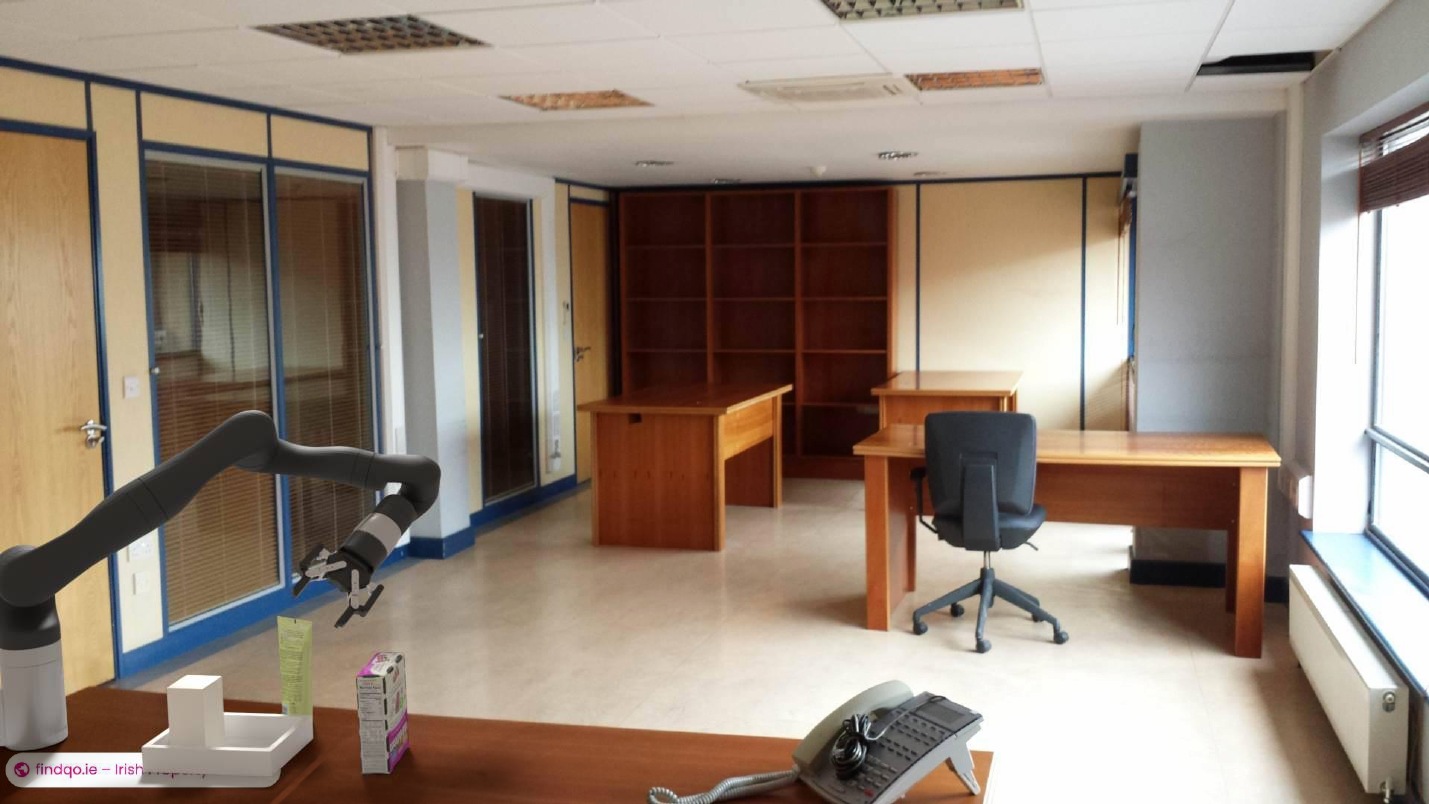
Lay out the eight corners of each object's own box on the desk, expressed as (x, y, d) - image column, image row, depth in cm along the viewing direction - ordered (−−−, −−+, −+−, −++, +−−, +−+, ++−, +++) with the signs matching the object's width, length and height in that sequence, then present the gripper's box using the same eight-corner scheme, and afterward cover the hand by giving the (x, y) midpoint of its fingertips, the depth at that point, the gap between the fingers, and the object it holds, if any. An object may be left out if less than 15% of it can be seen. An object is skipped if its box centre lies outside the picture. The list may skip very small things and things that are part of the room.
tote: (143, 777, 185) (141, 747, 185) (194, 739, 200) (192, 711, 200) (271, 782, 184) (270, 751, 183) (313, 743, 198) (312, 715, 198)
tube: (316, 720, 209) (311, 612, 207) (317, 730, 204) (312, 620, 202) (282, 724, 207) (277, 616, 205) (282, 735, 202) (277, 624, 200)
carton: (170, 760, 190) (166, 687, 188) (190, 745, 196) (186, 675, 194) (206, 761, 189) (202, 688, 188) (225, 746, 195) (221, 676, 194)
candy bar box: (380, 746, 197) (376, 651, 195) (409, 746, 197) (406, 651, 195) (358, 775, 186) (354, 674, 184) (390, 775, 186) (386, 674, 184)
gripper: (397, 575, 214) (344, 644, 202) (332, 530, 212) (275, 596, 201) (409, 558, 208) (355, 627, 197) (341, 511, 207) (284, 577, 196)
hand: (314, 611), depth 199 cm, fingers open, 8 cm apart
